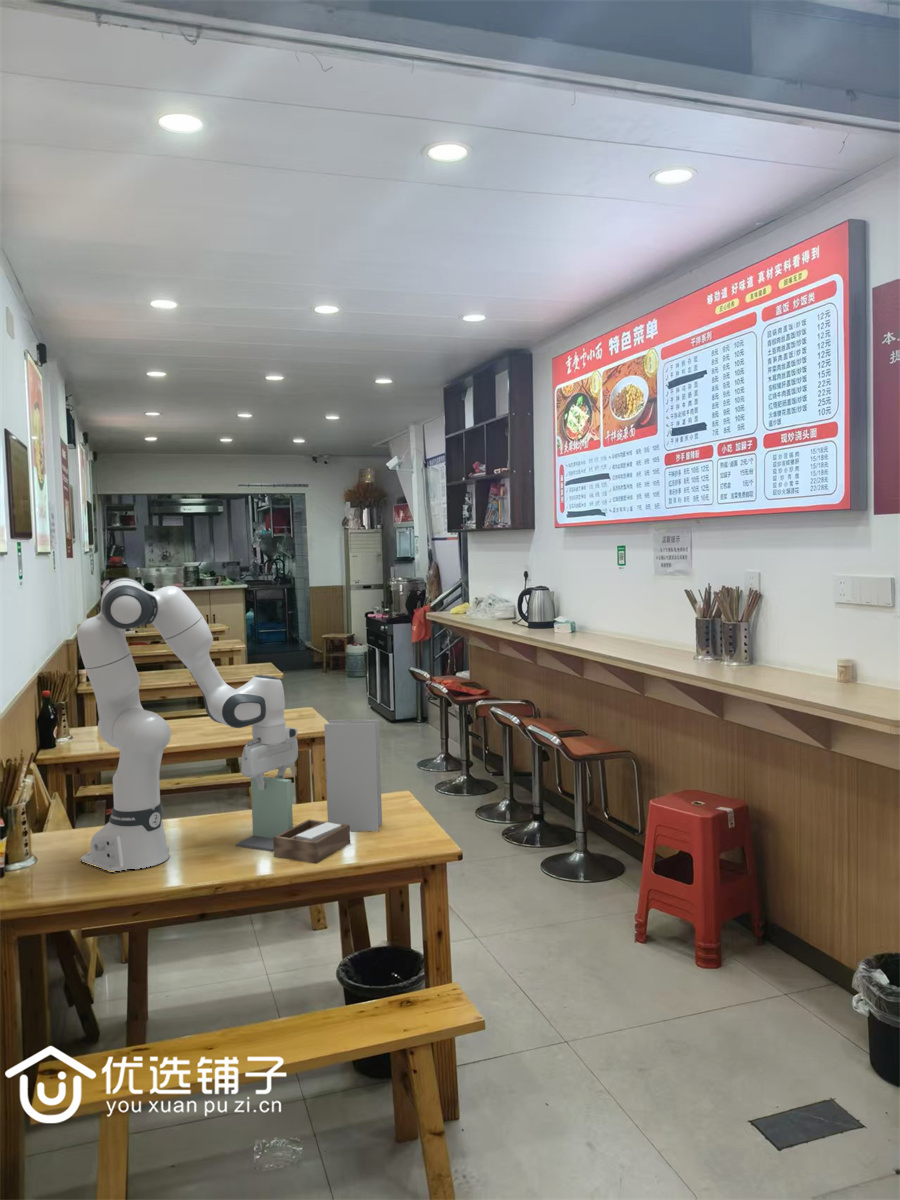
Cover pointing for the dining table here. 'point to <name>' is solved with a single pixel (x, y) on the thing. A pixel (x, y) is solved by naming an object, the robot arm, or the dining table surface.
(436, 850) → the dining table surface
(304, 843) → the rack
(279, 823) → the block
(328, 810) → the brochure
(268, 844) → the mat
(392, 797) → the dining table surface
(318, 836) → the offcut upper
